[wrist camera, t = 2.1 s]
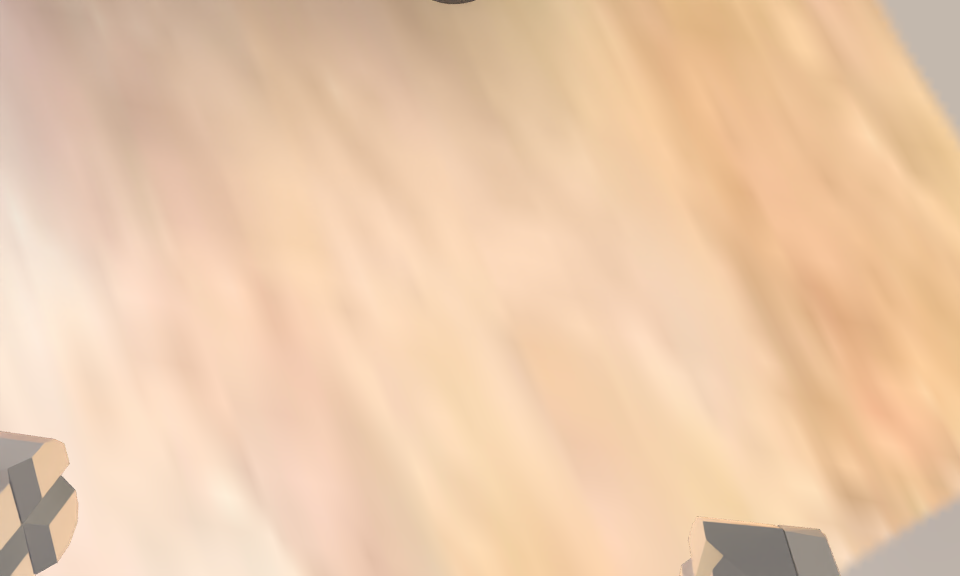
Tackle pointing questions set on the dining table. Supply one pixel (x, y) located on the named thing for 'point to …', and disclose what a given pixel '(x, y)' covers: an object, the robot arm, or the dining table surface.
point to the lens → (453, 1)
